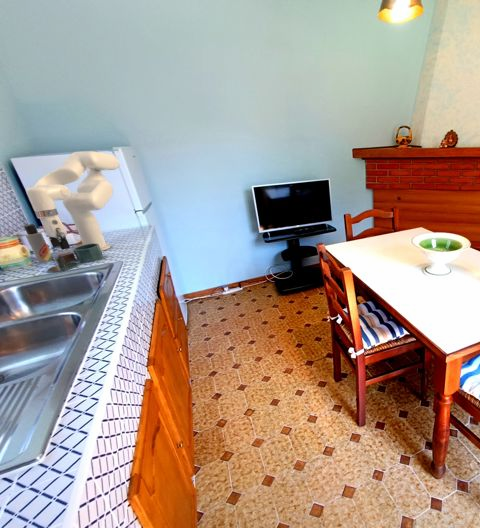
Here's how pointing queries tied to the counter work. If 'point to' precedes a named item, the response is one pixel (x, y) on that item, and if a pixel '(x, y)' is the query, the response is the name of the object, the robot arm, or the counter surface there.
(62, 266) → the lid
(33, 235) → the lotion bottle
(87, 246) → the pot
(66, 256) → the block
